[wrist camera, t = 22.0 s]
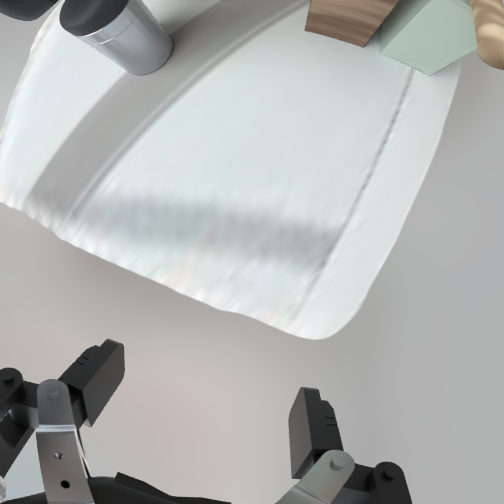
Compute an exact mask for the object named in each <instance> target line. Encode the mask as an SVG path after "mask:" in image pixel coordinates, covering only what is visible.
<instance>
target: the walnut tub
mask: <svg viewBox="0 0 504 504" xmlns="http://www.w3.org/2000/svg"><path fill="white" fill-rule="evenodd" d="M398 1H399V0H311V3H310V7H309V12H308V17H307V21H306V26H305V30H304V31H309V32H313V33H317V34H321V35H324V36H328V37H332V38H335V39H339V40H342V41H345V42H348V43H351V44H354V45H357V46H360V47H364V46H365V44H366V43H367V42H368V40H369V39H370V38H371V36H372V35H373V34H374V32H375V31H376V30H377V29H378V27H379V26H380V25H381V23H382V22H383V21H384V19H385V18H386V17H387V16H388V14H389V13H390V12H391V10H392V9H393V8H394V7H395V5H396V4H397V3H398Z"/></svg>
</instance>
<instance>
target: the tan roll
mask: <svg viewBox="0 0 504 504" xmlns="http://www.w3.org/2000/svg"><path fill="white" fill-rule="evenodd" d="M470 4H471V9H472V14H473V19H474V25H475V32H476V39H477V48H478V55H479V57H480V58H481V60H483V62H485V63H486V64H488V65H490V66H492V67H494V68H497V69H502V70H504V5H503V2H502V0H470Z"/></svg>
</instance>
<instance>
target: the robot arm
mask: <svg viewBox="0 0 504 504" xmlns="http://www.w3.org/2000/svg"><path fill="white" fill-rule="evenodd" d="M57 1H58V0H0V13H3V14H5V15H7V16H9V17H12V18H15V19H18V20H23V21H32V20H35V19H37V18H39V17H40V16H42V15H43V14H44V13H45V12H46V11H47V10H49V9H50V7H52V6H53V5H54V4H55V3H56V2H57ZM59 19H60V24H61V26H62V27H63V28H64V29H65V30H66V31H68V32H69V33H71V34H73V35H74V36H76V37H77V38H79V39H81V40H82V41H84V42H85V43H87V44H88V45H90V46H92V47H93V48H95V49H96V50H98V51H99V52H100V53H102V54H103V55H105V56H106V57H108V58H109V59H111V60H112V61H114V62H115V63H117V64H118V65H119V66H121V67H122V68H124V69H125V70H126V71H128V72H129V73H131V74H134V75H146V74H149V73H152V72H154V71H156V70H157V69H159V68H160V67H161V66H162V65H163V64H164V63H165V62H166V61H167V60H168V58H169V56H170V54H171V51H172V41H171V39H170V37H169V36H168V34H167V33H166V32H165V30H164V29H163V27H162V26H161V25H160V23H159V22H158V21H157V19H156V18H155V17H154V15H153V14H152V13H151V12H150V10H149V9H148V8H147V6H146V5H145V4H144V3H143V1H142V0H65V2H64V4H63V6H62V8H61V11H60V17H59ZM124 366H125V364H124V346H123V344H122V343H119V342H116V341H113V340H110V339H107V340H106V341H105V342H104V343H103V344H102V345H101V346H100V347H99V346H96V345H95V346H93V347H90V348H88V349H86V350H85V351H84V352H83V353H82V354H81V356H80V357H79V358H78V359H77V360H76V361H75V362H74V363H73V364H72V365H71V366H70V367H69V368H68V369H67V370H66V371H65V372H64V373H63V374H62V375H61V377H60V378H59V379H58V380H55V379H49V380H45V381H43V382H42V383H41V384H35V383H31V382H27V381H24V380H23V377H22V374H21V373H20V372H19V371H18V370H16V369H14V368H3V369H1V370H0V504H231V503H230V502H223V501H218V500H212V499H207V498H200V497H197V498H196V497H175V496H170V495H168V494H166V493H164V492H162V491H160V490H158V489H156V488H155V487H153V486H151V485H149V484H148V483H146V482H144V481H141V480H138V479H135V478H133V477H130V476H127V475H125V474H122V473H120V472H118V473H117V475H116V477H115V478H114V477H93V475H92V473H91V470H90V467H89V464H88V461H87V457H86V454H85V450H84V446H83V442H82V438H81V433H80V430H79V429H80V427H81V426H82V424H84V425H87V426H88V427H92V425H93V424H94V422H95V421H96V419H97V418H98V416H99V415H100V413H101V411H102V410H103V408H104V407H105V405H106V404H107V402H108V401H109V399H110V398H111V396H112V395H113V393H114V392H115V390H116V389H117V387H118V386H119V384H120V383H121V381H122V379H123V377H124V371H125V367H124ZM6 414H7V415H6ZM5 415H6V416H5ZM2 419H3V420H2ZM1 420H2V421H1ZM35 429H36V439H37V448H38V455H39V461H40V468H41V474H42V479H43V484H44V489H45V492H42V493H39V494H35V495H31V496H26V497H22V498H18V499H12V500H7V501H4V498H5V496H6V493H5V492H6V485H5V482H4V480H3V479H4V477H5V475H6V474H7V472H8V470H9V468H10V467H11V465H12V464H13V462H14V461H15V459H16V458H17V456H18V455H19V453H20V451H21V450H22V448H23V447H24V445H25V444H26V442H27V441H28V439H29V438H30V436H31V435H32V434H33V432H34V430H35ZM289 438H290V453H291V471H292V472H291V473H292V479H300V481H299V482H298V483H297V484H296V485H294V486H293V487H292V488H291V489H290V490H289V491H288V492H287V493H286V494H285V495H284V496H283V497H282V498H281V499H280V500H279V501H278V502H277V503H276V504H412V501H411V497H410V494H409V490H408V487H407V483H406V480H405V476H404V473H403V471H402V469H401V468H400V467H399V466H398V465H396V464H395V463H392V462H382V463H379V464H378V465H377V466H376V467H375V468H372V467H367V466H363V465H359V464H356V463H355V462H354V460H353V458H352V457H351V456H350V455H349V454H347V453H346V452H344V450H343V446H342V442H341V437H340V433H339V429H338V426H337V421H336V419H335V413H334V409H333V408H332V406H331V405H330V404H329V402H328V401H324V400H321V398H320V393H319V390H318V389H314V388H307V387H301V388H300V390H299V392H298V395H297V397H296V399H295V401H294V404H293V406H292V408H291V411H290V414H289Z"/></svg>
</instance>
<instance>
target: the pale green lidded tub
mask: <svg viewBox="0 0 504 504" xmlns="http://www.w3.org/2000/svg"><path fill="white" fill-rule="evenodd" d="M476 49H478V48H477V39H476V32H475V25H474V19H473V14H472V9H471V4H470V0H399V1H398V3H397V4H396V5H395V7H394V8H393V9H392V10H391V12H390V13H389V14H388V16H387V17H386V18H385V19H384V21H383V22H382V31H381V44H380V54H382V55H384V56H387V57H389V58H392V59H394V60H396V61H399V62H401V63H403V64H405V65H408V66H410V67H412V68H414V69H416V70H418V71H420V72H422V73H424V74H426V75H428V76H430V75H432V74H433V73H435V72H437V71H438V70H440V69H442V68H444V67H445V66H447V65H449V64H451V63H453V62H454V61H456V60H458V59H460V58H462V57H463V56H465V55H467V54H469V53H471V52H473V51H475V50H476Z"/></svg>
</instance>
